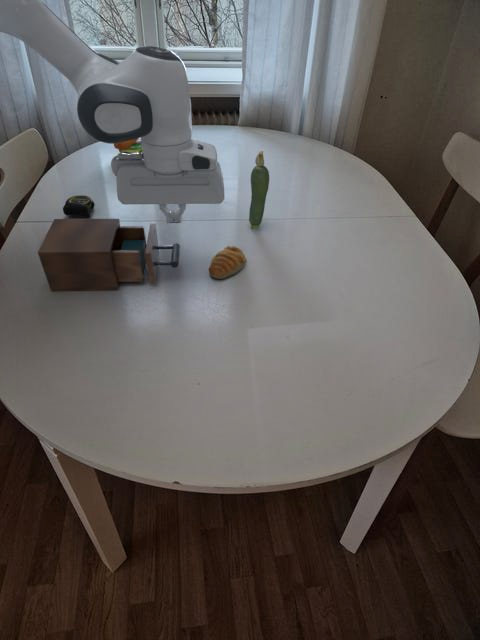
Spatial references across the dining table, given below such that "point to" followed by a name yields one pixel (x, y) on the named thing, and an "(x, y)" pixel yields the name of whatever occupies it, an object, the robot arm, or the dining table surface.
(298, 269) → the dining table surface
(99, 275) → the cabinet
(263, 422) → the dining table surface
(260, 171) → the vegetable
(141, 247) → the teal block
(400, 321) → the dining table surface
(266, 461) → the dining table surface
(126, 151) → the cheeseburger
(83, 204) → the tape measure
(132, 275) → the drawer
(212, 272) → the pastry
